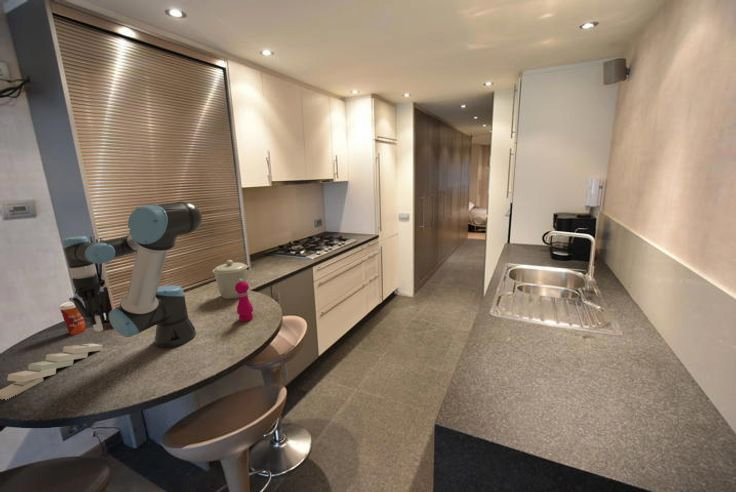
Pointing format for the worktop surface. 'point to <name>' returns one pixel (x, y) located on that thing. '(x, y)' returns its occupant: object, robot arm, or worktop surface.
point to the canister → (230, 278)
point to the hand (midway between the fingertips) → (98, 330)
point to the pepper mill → (243, 301)
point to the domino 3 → (49, 365)
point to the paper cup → (72, 318)
